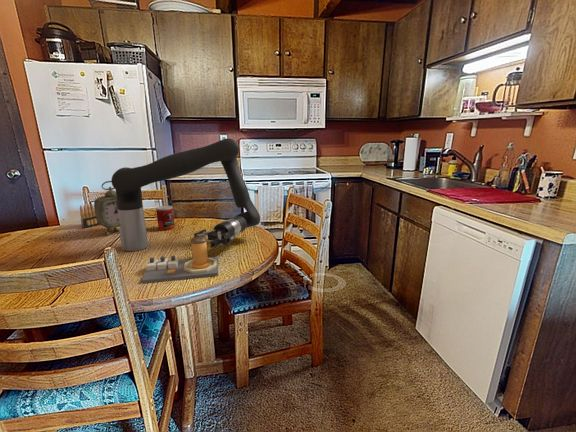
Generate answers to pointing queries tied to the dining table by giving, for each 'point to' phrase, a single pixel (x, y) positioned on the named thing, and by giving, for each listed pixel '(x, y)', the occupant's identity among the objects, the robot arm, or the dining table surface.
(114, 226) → the tabletop clock
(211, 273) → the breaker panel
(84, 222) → the ammunition clip
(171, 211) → the canned food
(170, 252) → the dining table surface
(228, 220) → the robot arm
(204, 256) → the cap
